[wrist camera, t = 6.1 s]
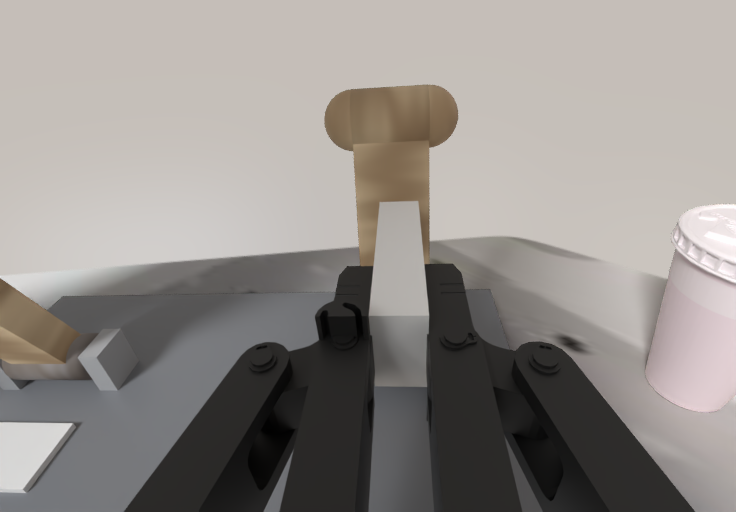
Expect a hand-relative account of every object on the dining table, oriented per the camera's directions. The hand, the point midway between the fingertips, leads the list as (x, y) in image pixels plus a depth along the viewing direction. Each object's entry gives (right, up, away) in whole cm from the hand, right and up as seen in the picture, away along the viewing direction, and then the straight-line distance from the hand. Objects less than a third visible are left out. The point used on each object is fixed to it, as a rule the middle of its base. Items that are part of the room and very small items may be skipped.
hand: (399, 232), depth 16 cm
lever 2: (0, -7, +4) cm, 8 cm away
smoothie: (+17, -8, +6) cm, 20 cm away
